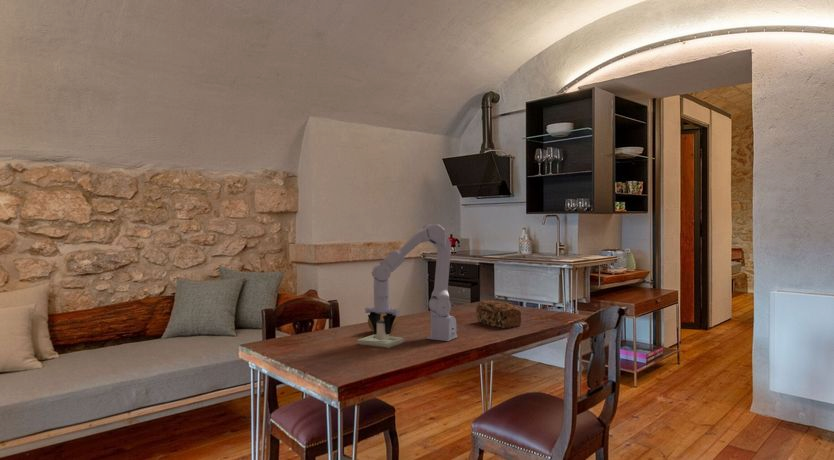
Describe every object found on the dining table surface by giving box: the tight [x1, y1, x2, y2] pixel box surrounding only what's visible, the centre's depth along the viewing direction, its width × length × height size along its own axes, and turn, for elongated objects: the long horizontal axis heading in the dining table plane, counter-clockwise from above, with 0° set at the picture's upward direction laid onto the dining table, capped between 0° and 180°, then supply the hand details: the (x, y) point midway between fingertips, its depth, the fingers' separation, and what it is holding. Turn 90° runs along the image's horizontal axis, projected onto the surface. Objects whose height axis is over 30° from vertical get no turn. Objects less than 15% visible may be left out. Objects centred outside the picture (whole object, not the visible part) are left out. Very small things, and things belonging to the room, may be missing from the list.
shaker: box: [376, 320, 390, 340], centre depth 186 cm, size 5×5×7 cm
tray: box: [357, 334, 405, 349], centre depth 186 cm, size 14×10×2 cm
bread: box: [475, 299, 522, 329], centre depth 216 cm, size 19×11×10 cm, turn 30°
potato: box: [367, 314, 399, 331], centre depth 206 cm, size 10×14×8 cm
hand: (382, 333), depth 186 cm, fingers closed on shaker, 5 cm apart
